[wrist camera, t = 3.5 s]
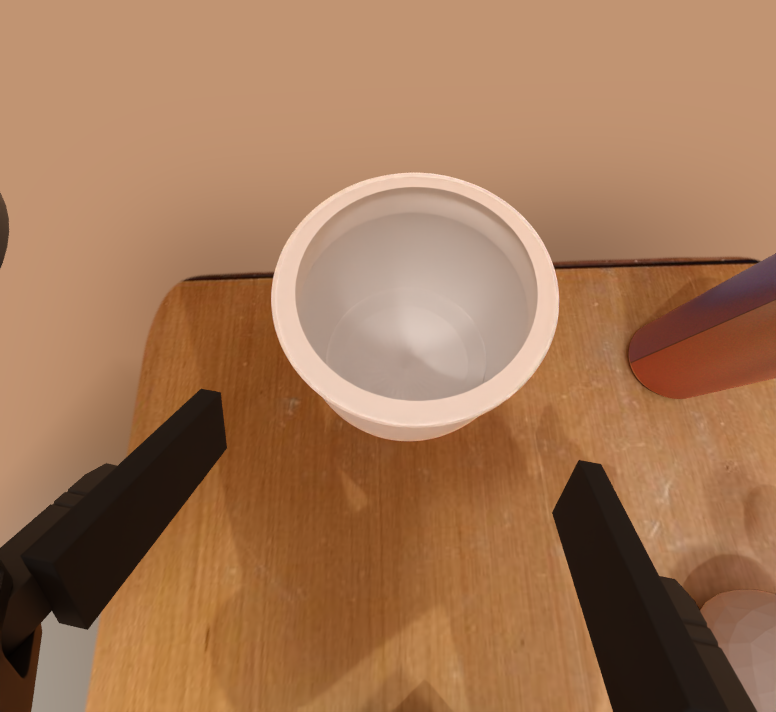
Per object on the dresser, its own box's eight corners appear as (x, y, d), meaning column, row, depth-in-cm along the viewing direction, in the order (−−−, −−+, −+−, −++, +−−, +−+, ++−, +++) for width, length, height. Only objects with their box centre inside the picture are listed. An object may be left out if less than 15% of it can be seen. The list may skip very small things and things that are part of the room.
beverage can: (614, 328, 29) (838, 190, 14) (689, 322, 29) (987, 179, 14) (635, 403, 27) (912, 332, 13) (715, 397, 27) (1081, 320, 13)
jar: (343, 461, 26) (284, 456, 12) (324, 327, 29) (259, 190, 15) (488, 434, 26) (605, 397, 12) (455, 304, 29) (518, 150, 15)
